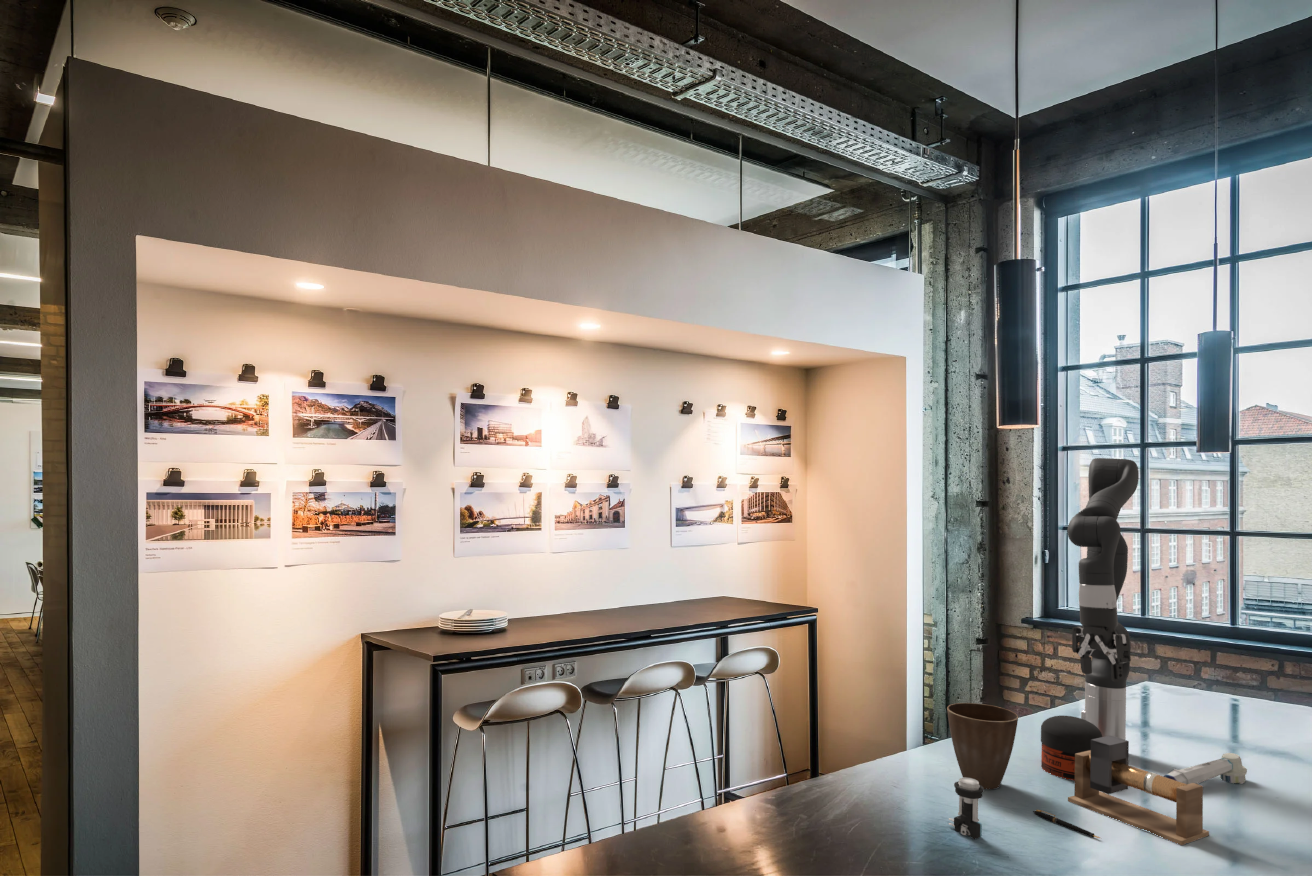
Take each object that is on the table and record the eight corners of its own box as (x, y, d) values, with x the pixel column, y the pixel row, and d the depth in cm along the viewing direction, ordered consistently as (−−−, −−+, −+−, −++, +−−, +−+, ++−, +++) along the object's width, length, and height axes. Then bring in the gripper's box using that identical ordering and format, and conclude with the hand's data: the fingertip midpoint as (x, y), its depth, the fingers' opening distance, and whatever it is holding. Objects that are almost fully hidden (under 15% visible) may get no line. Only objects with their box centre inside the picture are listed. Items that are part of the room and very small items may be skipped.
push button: (941, 829, 157) (942, 777, 158) (957, 823, 161) (958, 771, 161) (972, 842, 152) (973, 788, 153) (988, 835, 155) (989, 782, 156)
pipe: (1085, 774, 174) (1085, 754, 174) (1096, 771, 176) (1097, 751, 176) (1178, 807, 158) (1179, 785, 158) (1190, 803, 160) (1190, 782, 160)
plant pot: (934, 782, 182) (936, 710, 183) (961, 766, 193) (962, 698, 194) (1002, 802, 172) (1003, 725, 173) (1026, 784, 183) (1028, 712, 184)
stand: (1067, 801, 174) (1068, 754, 175) (1095, 793, 179) (1096, 748, 180) (1181, 845, 154) (1181, 792, 155) (1209, 835, 159) (1209, 784, 160)
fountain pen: (1103, 841, 155) (1103, 833, 155) (1100, 843, 154) (1100, 835, 155) (1034, 813, 167) (1034, 806, 167) (1030, 815, 167) (1030, 807, 167)
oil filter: (1109, 773, 193) (1052, 758, 202) (1110, 721, 193) (1052, 708, 202) (1091, 786, 184) (1031, 770, 193) (1091, 731, 184) (1032, 717, 193)
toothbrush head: (1157, 770, 185) (1227, 744, 195) (1159, 799, 185) (1229, 772, 195) (1179, 778, 180) (1250, 752, 190) (1182, 808, 180) (1253, 780, 190)
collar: (1090, 787, 172) (1090, 739, 172) (1109, 782, 175) (1110, 735, 176) (1108, 794, 168) (1109, 745, 169) (1128, 789, 172) (1128, 741, 172)
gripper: (1060, 601, 190) (1064, 672, 189) (1109, 608, 177) (1113, 684, 175) (1087, 600, 192) (1090, 670, 191) (1137, 607, 179) (1141, 682, 177)
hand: (1101, 677), depth 183 cm, fingers open, 8 cm apart
